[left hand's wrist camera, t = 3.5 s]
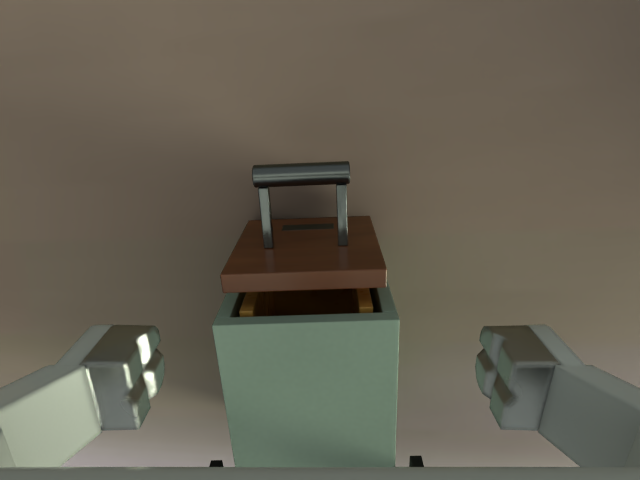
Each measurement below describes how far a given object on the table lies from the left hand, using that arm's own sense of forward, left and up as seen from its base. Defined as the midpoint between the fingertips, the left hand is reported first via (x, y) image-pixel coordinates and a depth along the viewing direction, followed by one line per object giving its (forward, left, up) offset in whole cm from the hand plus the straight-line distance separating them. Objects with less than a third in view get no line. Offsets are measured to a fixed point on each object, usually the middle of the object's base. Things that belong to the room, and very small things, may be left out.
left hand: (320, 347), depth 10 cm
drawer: (-5, +8, -21) cm, 23 cm away
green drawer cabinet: (-9, +12, -22) cm, 27 cm away
